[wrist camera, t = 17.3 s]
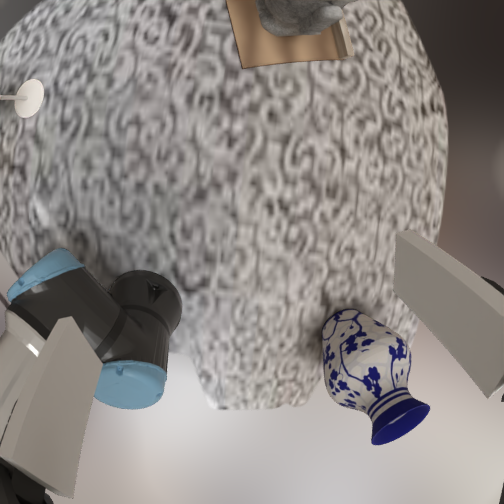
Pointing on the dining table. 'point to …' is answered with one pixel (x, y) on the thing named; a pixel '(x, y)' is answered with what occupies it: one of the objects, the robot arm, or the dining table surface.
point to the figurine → (299, 15)
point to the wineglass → (27, 98)
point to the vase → (370, 373)
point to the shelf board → (283, 40)
